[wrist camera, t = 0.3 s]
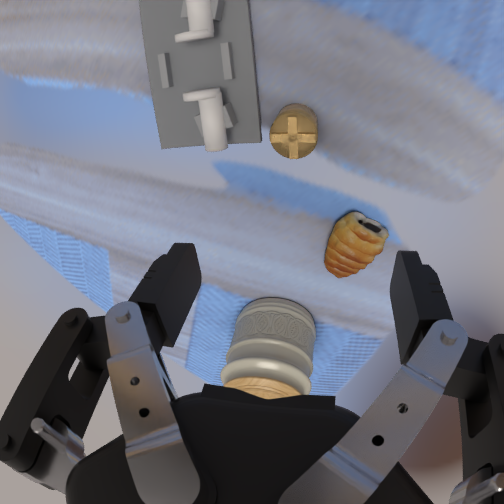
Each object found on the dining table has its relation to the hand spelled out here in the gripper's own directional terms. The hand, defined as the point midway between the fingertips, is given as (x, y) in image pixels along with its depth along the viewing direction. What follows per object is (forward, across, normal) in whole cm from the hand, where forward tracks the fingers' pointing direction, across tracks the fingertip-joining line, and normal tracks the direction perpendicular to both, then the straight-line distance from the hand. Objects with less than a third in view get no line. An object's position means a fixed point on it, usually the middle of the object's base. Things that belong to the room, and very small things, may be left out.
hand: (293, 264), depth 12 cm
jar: (+25, +5, +32) cm, 41 cm away
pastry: (+25, -6, +15) cm, 30 cm away
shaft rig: (+25, +11, -8) cm, 28 cm away
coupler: (+25, +1, 0) cm, 25 cm away
